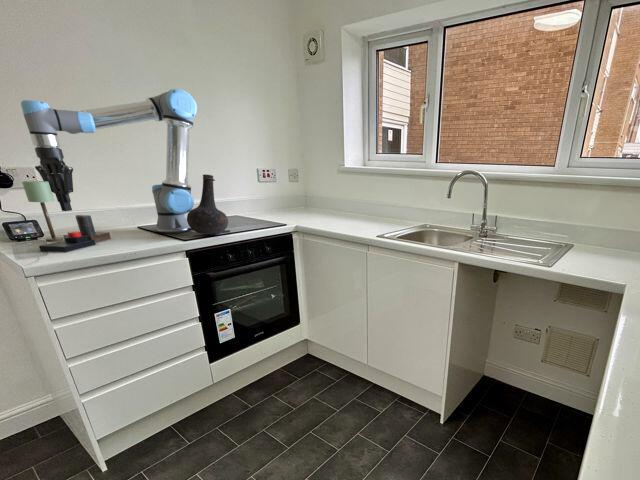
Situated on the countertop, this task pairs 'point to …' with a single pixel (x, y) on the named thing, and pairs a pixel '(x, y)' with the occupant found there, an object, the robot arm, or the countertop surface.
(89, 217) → the dark grey tall block
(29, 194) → the lamp
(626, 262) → the countertop surface
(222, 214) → the glass bottle
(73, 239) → the lamp base
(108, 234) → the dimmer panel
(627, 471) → the countertop surface
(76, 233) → the power button
